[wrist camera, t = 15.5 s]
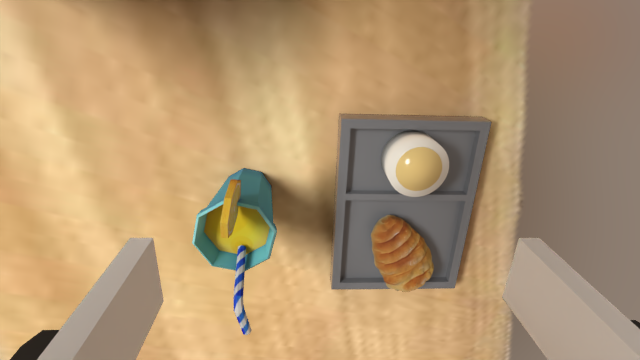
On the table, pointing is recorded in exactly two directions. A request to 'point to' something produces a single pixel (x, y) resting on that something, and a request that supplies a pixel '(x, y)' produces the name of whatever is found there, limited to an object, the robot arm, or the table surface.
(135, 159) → the table surface
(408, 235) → the pastry
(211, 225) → the cup
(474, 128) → the serving board
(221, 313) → the table surface
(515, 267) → the robot arm
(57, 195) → the table surface
